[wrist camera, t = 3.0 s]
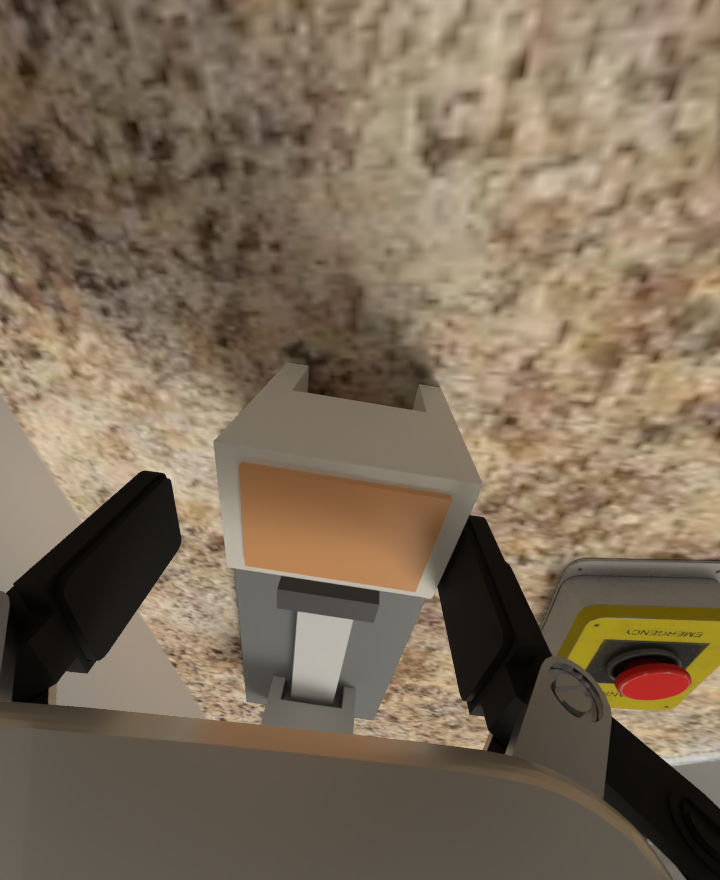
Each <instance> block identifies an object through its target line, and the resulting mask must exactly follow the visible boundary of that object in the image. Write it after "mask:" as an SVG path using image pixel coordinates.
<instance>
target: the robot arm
mask: <svg viewBox="0 0 720 880" xmlns="http://www.w3.org/2000/svg"><path fill="white" fill-rule="evenodd" d="M180 544H181V534H180V529H179V523H178V517H177V512H176V506H175V501H174V495H173V489H172V484H171V480H170V479H168V478H166V475H165V474H164V473H159V472H152V471H141V472H140V473H138V474H137V475H136V476H135V477H134V478H133V479H132V480H131V481H129V482H128V483H127V484H126V485H125V486H124V487H123V488H121V489H120V490H119V491H118V492H117V493H116V494H115V495H113V496H112V497H111V498H110V499H109V500H108V501H107V502H106V503H104V504H103V505H102V506H101V507H100V508H99V509H98V510H96V511H95V512H94V513H93V514H92V515H91V516H90V517H88V518H87V519H86V520H85V521H84V522H83V523H82V524H80V525H79V526H78V527H77V528H76V529H75V530H74V531H73V532H71V533H70V534H69V535H68V536H67V537H66V538H65V539H63V540H62V541H61V542H60V543H59V544H58V545H57V546H55V548H53V549H52V550H51V551H50V552H49V553H48V554H47V555H45V556H44V557H43V558H42V559H41V560H40V561H38V562H37V563H36V564H35V565H34V566H33V567H32V568H30V569H29V570H28V571H27V572H26V573H25V574H24V575H23V576H22V577H20V578H19V579H18V580H17V581H16V582H15V583H14V584H13V585H14V587H12V588H11V589H10V590H9V591H8V592H7V593H4V592H3V591H0V880H720V809H719V808H718V807H717V806H716V805H715V804H714V803H713V802H712V801H711V800H710V799H709V798H708V797H707V796H706V795H705V794H704V793H702V792H701V791H700V790H699V789H698V788H696V787H695V786H694V785H693V784H692V783H691V782H689V781H688V780H687V779H686V778H685V777H683V776H682V775H681V774H680V773H679V772H677V771H676V770H675V769H674V768H673V767H671V766H670V765H669V764H668V763H667V762H665V761H664V760H663V759H662V758H661V757H659V756H658V755H657V754H656V753H655V752H653V751H652V750H651V749H650V748H649V747H647V746H646V745H645V744H644V743H643V742H642V741H640V740H639V739H638V738H637V737H636V736H634V735H633V734H632V733H631V732H630V731H628V730H627V729H626V728H625V727H624V726H622V725H621V724H620V723H619V722H618V721H616V720H615V719H614V718H613V717H612V716H611V708H610V705H609V702H608V700H607V697H606V695H605V694H604V692H603V691H602V689H601V687H600V686H599V684H598V683H597V682H596V681H595V680H594V679H593V677H592V676H591V675H590V674H589V673H588V672H586V671H585V670H584V669H583V668H582V667H581V666H579V665H578V664H576V663H574V662H573V661H571V660H569V659H566V658H563V657H559V656H552V654H551V652H550V650H549V647H548V645H547V643H546V641H545V639H544V637H543V635H542V633H541V630H540V628H539V626H538V624H537V622H536V620H535V618H534V615H533V613H532V611H531V609H530V607H529V605H528V603H527V601H526V598H525V596H524V594H523V592H522V590H521V588H520V586H519V583H518V581H517V579H516V577H515V575H514V573H513V571H512V569H511V567H510V565H509V564H508V563H507V562H505V560H504V558H503V556H502V554H501V551H500V549H499V547H498V545H497V543H496V541H495V538H494V536H493V534H492V532H491V530H490V527H489V525H488V523H487V521H486V519H485V518H484V517H479V516H472V515H469V517H468V519H467V521H466V524H465V526H464V528H463V530H462V533H461V535H460V537H459V539H458V541H457V544H456V546H455V548H454V550H453V553H452V555H451V557H450V559H449V562H448V564H447V566H446V568H445V571H444V573H443V575H442V577H441V580H440V582H439V584H438V586H437V587H438V592H439V597H440V602H441V606H442V611H443V616H444V621H445V626H446V630H447V635H448V640H449V645H450V650H451V654H452V659H453V664H454V669H455V673H456V678H457V683H458V688H459V692H460V696H461V698H462V700H463V701H467V705H468V709H469V714H470V715H476V716H485V720H486V724H487V728H488V730H489V732H490V733H489V736H488V738H487V741H486V743H485V746H484V748H483V750H477V749H469V748H462V747H454V746H446V745H439V744H431V743H423V742H415V741H406V740H397V739H388V738H378V737H369V736H360V735H351V734H342V733H333V732H323V731H314V730H304V729H295V728H285V727H276V726H266V725H256V724H247V723H237V722H227V721H217V720H208V719H198V718H188V717H178V716H168V715H157V714H147V713H136V712H126V711H116V710H106V709H96V708H85V707H73V706H60V705H56V693H57V690H56V689H57V682H58V681H59V679H60V678H61V677H62V675H63V674H64V673H65V671H70V672H78V673H88V672H89V670H90V669H91V667H92V666H93V665H94V663H95V662H96V661H97V660H98V661H99V660H101V659H102V658H103V657H105V655H106V654H107V653H108V652H109V650H110V649H111V647H112V646H113V644H114V643H115V641H116V640H117V638H118V637H119V636H120V634H121V633H122V631H123V630H124V628H125V627H126V625H127V624H128V622H129V621H130V619H131V618H132V616H133V615H134V614H135V612H136V611H137V609H138V608H139V606H140V605H141V603H142V602H143V601H144V599H145V598H146V596H147V595H148V593H149V592H150V590H151V589H152V587H153V586H154V585H155V583H156V582H157V580H158V579H159V577H160V576H161V574H162V573H163V571H164V570H165V568H166V567H167V566H168V564H169V563H170V561H171V560H172V558H173V557H174V555H175V554H176V552H177V551H178V549H179V547H180Z"/></svg>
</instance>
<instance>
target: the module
mask: <svg viewBox="0 0 720 880" xmlns="http://www.w3.org/2000/svg"><path fill="white" fill-rule="evenodd" d="M308 378H309V366H308V365H302V364H295V363H289V362H287V363H286V364H285V365H284V366H283V367H282V368H281V369H280V370H279V372H278V373H277V374H276V375H275V376H274V377H273V378H272V379H271V380H270V381H269V382H268V383H267V384H266V386H265V387H264V388H263V389H262V390H261V391H260V392H259V393H258V394H257V395H256V396H255V397H254V398H253V400H252V401H251V402H250V403H249V404H248V405H247V406H246V407H245V408H244V409H243V410H242V411H241V412H240V414H239V415H238V416H237V417H236V418H235V419H234V420H233V421H232V422H231V423H230V424H229V425H228V426H227V427H226V429H225V430H224V431H223V432H222V433H221V434H220V435H219V436H218V437H217V438H216V439H215V440H214V450H215V459H216V468H217V477H218V486H219V495H220V505H221V514H222V523H223V532H224V541H225V550H226V560H227V567H229V568H236V569H242V570H249V571H255V572H262V573H268V574H275V575H281V576H288V577H294V578H301V579H307V580H314V581H320V582H327V583H333V584H339V585H346V586H352V587H359V588H365V589H372V590H378V591H385V592H391V593H398V594H404V595H411V596H417V597H424V598H430V599H432V597H433V595H434V593H435V591H436V588H437V586H438V584H439V582H440V580H441V577H442V575H443V573H444V571H445V568H446V566H447V564H448V562H449V559H450V557H451V555H452V553H453V550H454V548H455V546H456V544H457V541H458V539H459V537H460V535H461V533H462V530H463V528H464V526H465V524H466V521H467V519H468V517H469V515H470V512H471V510H472V508H473V506H474V503H475V501H476V499H477V497H478V494H479V492H480V490H481V488H482V486H483V484H482V482H481V479H480V477H479V475H478V472H477V470H476V468H475V465H474V463H473V461H472V459H471V456H470V454H469V452H468V449H467V447H466V445H465V442H464V440H463V438H462V436H461V433H460V431H459V429H458V426H457V424H456V422H455V419H454V417H453V415H452V413H451V410H450V408H449V406H448V403H447V401H446V399H445V396H444V394H443V392H442V390H441V388H440V387H434V386H428V385H422V384H419V385H418V389H417V393H416V397H415V401H414V405H413V409H412V410H409V409H403V408H397V407H391V406H385V405H379V404H373V403H367V402H361V401H355V400H349V399H342V398H336V397H330V396H324V395H318V394H312V393H308Z"/></svg>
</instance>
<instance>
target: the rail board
mask: <svg viewBox="0 0 720 880" xmlns="http://www.w3.org/2000/svg"><path fill="white" fill-rule="evenodd" d="M235 579H236V590H237V601H238V612H239V623H240V634H241V645H242V656H243V667H244V678H245V689H246V700H247V702H251V703H258V704H265V705H266V706H265V710H264V714H263V718H262V722H261V725H266V726H276V727H285V728H295V729H304V730H314V731H323V732H333V733H342V734H351V735H353V727H354V718H360V719H367V720H374V718H375V715H376V713H377V711H378V708H379V706H380V704H381V701H382V699H383V697H384V694H385V692H386V690H387V687H388V685H389V683H390V680H391V678H392V676H393V673H394V671H395V669H396V666H397V664H398V662H399V659H400V657H401V655H402V652H403V650H404V648H405V645H406V643H407V641H408V638H409V636H410V634H411V631H412V629H413V627H414V624H415V622H416V620H417V618H418V615H419V613H420V611H421V608H422V606H423V604H424V601H425V599H426V598H424V597H417V596H411V595H404V594H398V593H391V592H385V591H378V590H372V589H365V588H359V587H352V586H346V585H339V584H333V583H327V582H320V581H314V580H307V579H301V578H294V577H288V576H281V575H275V574H268V573H262V572H255V571H249V570H242V569H236V568H235Z"/></svg>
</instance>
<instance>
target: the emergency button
mask: <svg viewBox="0 0 720 880" xmlns="http://www.w3.org/2000/svg"><path fill="white" fill-rule="evenodd" d="M540 630H541V633H542V635H543V637H544V639H545V641H546V643H547V645H548V647H549V650H550V652H551V654H552V656H559V657H563V658H566V659H569V660H571V661H573V662H574V663H576V664H578V665H579V666H581V667H582V668H583V669H584V670H585V671H586V672H588V673H589V674H590V675H591V676H592V677H593V679H594V680H595V681H596V682H597V683H598V684H599V686H600V687H601V689H602V691H603V692H604V694H605V695H606V697H607V700H608V702H609V705H610V708H620V709H638V710H655V711H661V710H669V709H673V708H675V707H676V706H678V705H679V704H680V703H681V702H682V701H683V700H684V699H685V698H686V697H687V696H688V695H689V694H690V693H691V692H692V691H693V690H694V689H696V688H697V687H698V686H699V685H700V684H701V683H702V682H703V681H704V680H705V679H706V678H707V677H708V676H709V675H710V674H711V673H712V672H713V671H714V670H716V669H717V668H718V667H719V666H720V561H690V560H638V559H580V560H576V561H574V562H573V563H571V564H569V565H568V567H567V568H566V569H565V571H564V573H563V575H562V578H561V580H560V582H559V585H558V587H557V590H556V592H555V594H554V597H553V599H552V601H551V604H550V606H549V608H548V611H547V613H546V616H545V618H544V620H543V623H542V625H541V627H540Z"/></svg>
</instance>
